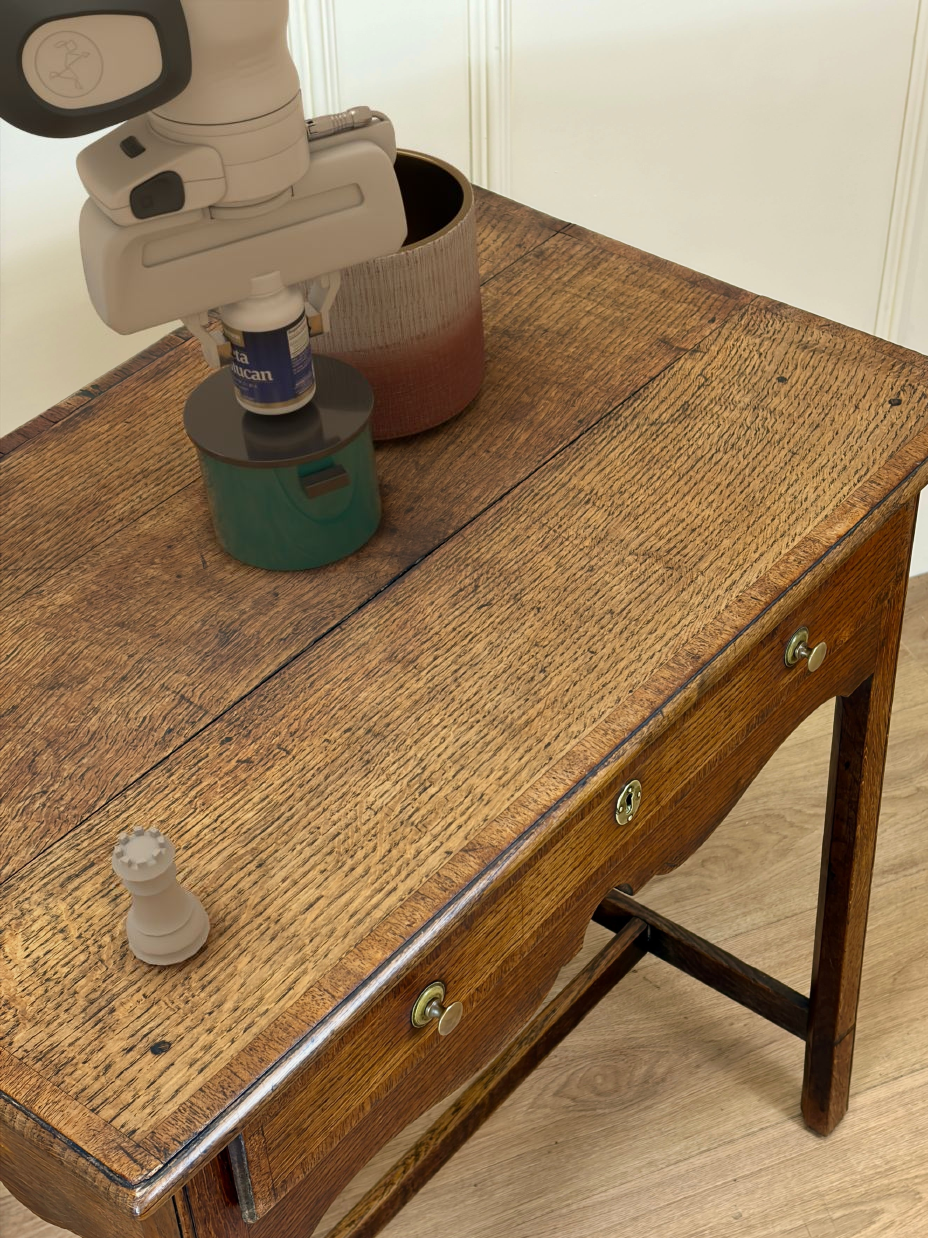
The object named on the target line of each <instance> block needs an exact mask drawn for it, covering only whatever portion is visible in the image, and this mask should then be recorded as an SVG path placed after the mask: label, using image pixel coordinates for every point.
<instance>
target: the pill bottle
mask: <svg viewBox="0 0 928 1238" xmlns="http://www.w3.org/2000/svg"><path fill="white" fill-rule="evenodd" d="M251 284H252V291H251V295H252V296H251V297H249V298H247V299H244V300H240V301H237V302H234V303H230V304H227V305H224V306H221V307H218V312H219V317H220V323H221V327H222V332H223V333H224V336H226V337H227V338H228V339H229V340H230V341H231V346H232V352H231V354H232V355H233V356H234V363H231V364H229V365H230V369H231V375H232V380H233V385H234V390H235V394H236V398H237V400H238V402H239V403H240V404H241V405H242V406H243V407H244V408H245V409H247V410H249V411H251V412H254V413H258V414H265V415H278V414H285V413H289V412H292V411H295V410H297V409H299V408H301V407H303V406H304V405H305V404H307V403H308V402H309V401H310V400H311V398H312V397H313V395H314V393H315V389H316V383H315V374H314V367H313V360H312V353H311V346H310V340H309V333H308V326H307V320H306V313H305V306H304V301H303V296H302V294H301V292H300V290H299V289H298V287H297V286H296V285H295V284H292V285H289V286H286V287H285V286H283V283H282V281H281V278H280V272H279V271H274V272H271V273H268V274H264V275H261V276H258V277H254V278H252V279H251Z"/></svg>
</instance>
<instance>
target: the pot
mask: <svg viewBox="0 0 928 1238" xmlns="http://www.w3.org/2000/svg"><path fill="white" fill-rule="evenodd" d="M312 360H313V367H314V374H315V383H316V389H315V393H314V395H313V397H312V398H311V400H310V401H309V402H308V403H307V404H305V405H304V406H303V407H301V408H299V409H297V410H295V411H292V412H289V413H285V414H278V415H265V414H258V413H254V412H251V411H249V410H247V409H245V408H244V407H243V406H242V405H241V404H240V403H239V402H238V400H237V398H236V394H235V390H234V385H233V380H232V375H231V369H230V364H229V365H226V366H223V367H221V368H220V369H218V370H217V371H215V372H213V373H212V374H210V375H208V376H207V377H206V378H204V379H203V380H202V381H201V382H200V383H199V384H198V385H197V386H195V388H193V390H192V391H191V392H190V394H189V396H188V397H187V399H186V401H185V404H184V407H183V412H182V422H183V427H184V430H185V433H186V436H187V437H188V439H189V441H190V442H191V443H192V444H193V446H194V447H195V452H196V454H197V455H196V456H197V460H198V464H199V468H200V469H199V470H200V473H201V479H202V482H203V487H204V490H205V496H206V499H207V503H208V508H209V512H210V517H211V521H212V525H213V530H214V534H215V537H216V539H217V541H218V543H219V546H221V547H222V549H223V550H224V551H225V552H226V553H227V554H229V555H230V556H231V557H233V558H234V559H236V560H237V561H239V562H241V563H243V564H245V565H248V566H251V567H255V568H258V569H263V570H267V571H268V570H269V571H275V572H276V571H277V572H294V571H295V572H296V571H305V570H313V569H316V568H320V567H324V566H327V565H330V564H333V563H335V562H338V561H340V560H343V559H345V558H346V557H349V556H350V555H352V554H353V553H355V552H356V551H358V550H359V549H361V548H362V547H363V546H364V545H366V543H367V542H369V540H371V538H372V537H373V535H374V534H375V532H376V531H377V529H378V527H379V525H380V522H381V520H382V514H383V513H382V512H383V509H382V500H381V491H380V483H379V475H378V468H377V459H376V451H375V442H373V434H372V426H371V418H372V416H373V412H374V395H373V391H372V388H371V386H370V383H369V382H368V380H367V379H366V378H365V376H364V375H363V374H362V373H360V372H359V371H358V370H357V369H355V368H354V367H352V366H351V365H349V364H347V363H345V362H343V361H340V360H338V359H335V358H332V357H328V356H324V355H318V354H312Z"/></svg>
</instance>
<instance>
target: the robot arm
mask: <svg viewBox="0 0 928 1238" xmlns="http://www.w3.org/2000/svg"><path fill="white" fill-rule="evenodd" d="M289 16H290V0H0V119H2V121H4V122H5V123H7V124H9V125H10V126H12V127H14V128H16V129H18V130H20V131H22V132H25V133H28V134H30V135H33V136H37V137H42V138H47V139H57V140H58V139H59V140H60V139H61V140H63V139H73V138H74V139H75V138H80V137H84V136H87V135H90V134H94V133H97V132H100V131H102V130H105V129H109V128H111V127H114V126H116V125H119V124H120V125H119V126H117V127H116V128H114V129H112V130H111V131H109V132H108V133H106V134H105V135H102V136H101V137H100V138H98V139H97V140H95V141H93V142H92V143H90V144H88V145H87V146H85V147H84V148H83V149H82V150H80V152H78V154H77V156H76V157H75V165H76V166H75V167H76V170H77V171H76V172H77V175H78V177H79V180H80V182H81V184H82V185H83V188H84V190H85V191H86V193H87V194H88V197H87V199H86V200H85V201H84V203H83V205H82V207H81V210H80V213H79V219H78V238H79V246H80V247H79V248H80V255H81V263H82V269H83V275H84V280H85V284H86V290H87V292H88V297H89V300H90V303H91V305H92V307H93V309H94V311H95V313H96V315H97V316H98V317H99V319H100V320H101V322H102V323H103V324H105V326H107V327H108V328H109V329H111V330H112V331H114V332H116V333H117V334H118V335H121V336H129V335H132V334H137V333H139V332H142V331H146V330H149V329H152V328H155V327H158V326H161V325H165V324H168V323H171V322H175V321H178V320H180V322H182V324H183V325H184V327H185V328H186V329H187V330H188V332H190V333H191V334H192V335H193V336H194V337H195V338H196V339H197V340H198V341H199V342H200V346H201V351H202V355H203V358H204V360H205V362H206V364H208V367H210V369H211V370H216V369H219V368H224V367H226V366H229V365H230V364H231V363H234V356H233V355H232V354H231V352H232V346H231V341H230V340H229V339H228V338H227V337H226V336H224V333H223V329H221V328H219V329H214V330H211V331H208V330H207V329H206V328H205V326H206V325H208V324H209V323H210V320H209V315H208V311H210V310H214V309H217V308H219V307H221V306H224V305H227V304H230V303H234V302H237V301H240V300H244V299H247V298H249V297H251V296H252V295H251V291H252V284H251V279H252V278H254V277H258V276H261V275H264V274H268V273H271V272H274V271H279V272H280V278H281V281H282V283H283V286H285V287H286V286H289V285H292V284H296V283H299V282H302V281H306V280H309V279H312V278H313V279H314V283H313V286H312V289H311V292H310V295H309V298H308V301H307V302H304V306H305V313H306V320H307V326H308V333H309V338H312V337H315V336H318V335H321V334H325V333H328V332H330V321H329V314H328V310H330V308H331V306H332V303H333V301H334V299H335V296H336V294H337V292H338V289H339V287H340V285H341V278H340V270H341V269H345V268H348V267H351V266H354V265H358V264H361V263H364V262H367V261H371V260H374V259H377V258H381V257H384V256H387V255H391V254H393V253H396V252H398V251H399V249H400V248H401V246H402V244H403V242H404V240H405V238H406V236H407V224H406V217H405V212H404V206H403V201H402V197H401V193H400V188H399V185H398V181H397V178H396V174H395V171H394V168H393V165H394V163H395V159H396V148H397V142H396V131H395V128H394V124H393V123H392V120H391V119H390V118H389V117H388V115H386V114H385V113H383V112H382V111H379V110H374V109H371V108H370V106H367V105H359V106H358V105H357V106H353V107H351V108H348V109H346V111H341V112H337V113H333V114H331V113H330V114H325V115H320V116H316V117H313V118H308V119H306V117H305V109H304V102H303V96H302V88H301V80H300V76H299V71H298V69H297V67H296V65H295V62H294V60H293V58H292V55H291V52H290V49H289V44H288V32H287V31H288V22H289ZM373 118H375V119H373Z"/></svg>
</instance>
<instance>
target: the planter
mask: <svg viewBox="0 0 928 1238" xmlns="http://www.w3.org/2000/svg"><path fill="white" fill-rule="evenodd" d="M393 168H394V171H395V174H396V178H397V181H398V185H399V188H400V193H401V197H402V201H403V206H404V212H405V217H406V224H407V236H406V238H405V240H404V242H403V244H402V246H401V248H400V249H399V251H398V252H396V253H393V254H391V255H387V256H384V257H381V258H377V259H374V260H371V261H367V262H364V263H361V264H358V265H354V266H351V267H348V268H345V269H341V270H340V278H341V285H340V287H339V289H338V292H337V294H336V296H335V299H334V301H333V303H332V306H331V308H330V310H328V314H329V321H330V332H328V333H325V334H321V335H318V336H315V337H312V338H309V340H310V346H311V353H312V354H318V355H324V356H328V357H332V358H335V359H338V360H340V361H343V362H345V363H347V364H349V365H351V366H352V367H354V368H355V369H357V370H358V371H359V372H360V373H362V374H363V375H364V376H365V378H366V379H367V380H368V382H369V383H370V386H371V388H372V391H373V395H374V412H373V416H372V418H371V426H372V434H373V442H374V443H375V442H385V441H393V440H398V439H403V438H408V437H411V436H415V435H417V434H420V433H423V432H427V431H429V430H431V429H434V428H436V427H438V426H440V425H442V424H444V423H445V422H448V421H449V420H450V419H451V418H453V417H455V416H456V415H458V414H459V413H460V412H462V411H463V410H464V409H466V408H467V407H468V405H469V404H471V403H472V402H473V400H474V399H475V398H476V397H477V395H478V393H479V392H480V390H481V387H482V385H483V382H484V378H485V371H486V349H485V348H486V347H485V334H484V320H483V319H484V318H483V306H482V294H481V293H482V292H481V281H480V280H481V279H480V265H479V254H478V253H479V251H478V237H477V221H476V207H475V206H476V203H475V195H474V189H473V187H472V184H471V181H469V179H468V178H467V176H465V174H464V173H463V172H462V171H460V169H458V168H457V167H455V166H454V165H453V164H452V163H449V162H447V161H446V160H443V159H441V158H439V157H436V156H434V155H430V154H428V153H424V152H420V151H417V150H412V149H406V148H399V147H396V159H395V163H394V165H393ZM313 283H314V279H313V278H312V279H309V280H306V281H302V282H299V283H296V284H295V285H296V286H297V287H298V289H299V290H300V292H301V294H302V296H303V301H304V302H307V301H308V298H309V295H310V292H311V289H312V286H313Z"/></svg>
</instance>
